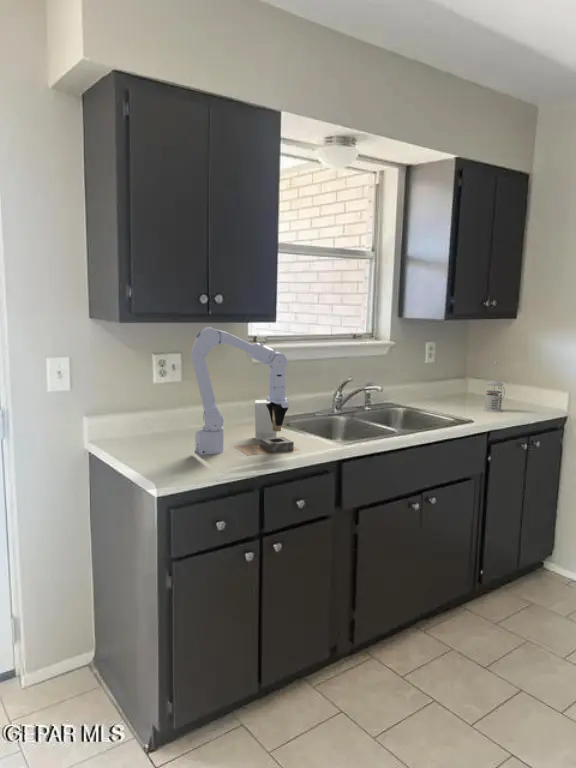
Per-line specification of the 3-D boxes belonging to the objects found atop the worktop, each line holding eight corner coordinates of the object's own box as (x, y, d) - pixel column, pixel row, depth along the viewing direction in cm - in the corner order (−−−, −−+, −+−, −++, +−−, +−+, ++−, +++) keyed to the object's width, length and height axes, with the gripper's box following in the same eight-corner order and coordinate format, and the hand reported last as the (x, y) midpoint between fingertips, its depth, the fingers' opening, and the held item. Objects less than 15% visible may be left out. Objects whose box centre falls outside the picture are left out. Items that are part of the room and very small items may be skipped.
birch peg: (274, 431, 207) (274, 409, 206) (271, 430, 210) (271, 408, 209) (282, 431, 209) (282, 408, 208) (278, 429, 211) (278, 407, 210)
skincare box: (276, 438, 230) (276, 399, 228) (276, 442, 224) (277, 402, 222) (254, 438, 230) (255, 399, 228) (254, 442, 224) (254, 402, 221)
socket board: (247, 458, 200) (247, 446, 200) (233, 449, 213) (233, 438, 212) (300, 453, 209) (300, 441, 208) (283, 444, 221) (283, 433, 221)
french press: (478, 409, 301) (481, 360, 298) (494, 407, 307) (498, 360, 303) (493, 412, 293) (496, 362, 289) (509, 411, 298) (513, 361, 295)
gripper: (296, 388, 202) (296, 427, 204) (279, 383, 215) (278, 419, 217) (277, 389, 199) (277, 429, 201) (261, 384, 212) (261, 421, 214)
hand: (276, 424), depth 209 cm, fingers closed on birch peg, 3 cm apart
